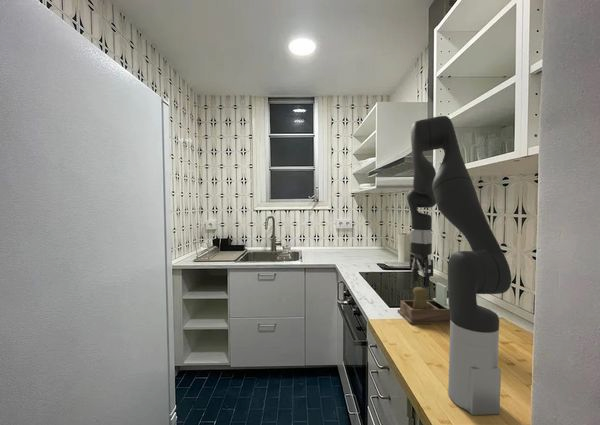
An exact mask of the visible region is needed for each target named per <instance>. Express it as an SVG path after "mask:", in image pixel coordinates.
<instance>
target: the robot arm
mask: <svg viewBox="0 0 600 425" xmlns="http://www.w3.org/2000/svg"><path fill="white" fill-rule="evenodd" d="M410 142H411V153H412V154H411V156H412V163H413V164H412V165H413V179H412V180H413V181H412V182H413V183H412V188H413V189H409V191H408V192H407V195H406V200H407V204H408V207H409V211H410V217H411V232H410V248H409V249H410V254H409V269H411V272H412V274H411V275H412V277H411V278H412V281H413V282H419V277H420V276H419V272H421V274H422V286H423V288H429V287H430V278H431V277H434V259H429V256H430V255H432V254H433V252H432V250H433V233H432V222H433V220H432V216H431V215H430V214H428V213H423V212H420V211H419V210H418V208H422V209H423V208H425V209H426V208H433V207H434V206H436V205H437V209H438V210H439V211H440V213H441V214H442V215H443V216H444V218H446V219H447V220H448V222H450V223H451V225H452V226H454V227H455V228H456V229H457V230H458V231H459V232H460V233H461V234H462V235H463V236H464V237H465V239H466V241H467V242H468V245H469V246H470V249H471V250H462V251H460V250H458V251H455V252H453V253H452V254H451V255H450V257H449V259H448V263H447V298H448V303H449V309H450V324H449V325H450V326H449V348H448V349H449V351H448V352H449V354H448V355H449V356H448V390H447V391H448V392H447V394H448V397H449V398H450V399H451V401H452V402H453V403H454V404H455V405H457V406H458V407H460V408H461V409H464V410H465V411H467V412H468V413H469V414H470V415H472V416H474V415H477V416H478V415H481V416H482V415H483V416H484V415H500V411H501V387H502V386H501V383H502V381H501V380H502V370H501V368H499V367H498V366H499V340H500V318H499V315H498V314H497V312H495V311H493V310H491V309H490V308H487V307H485V306H481V305H478V302H477V295H499V294H504V293H506V292H507V291H509V289H510V287H511V285H512V273H511V269H510V265H509V263H508V260H507V258H506V256H505V253H504V252H503V250H502V248H501V246H500V244H499V242H498V240H497V238H496V237H495V234H494V232H493V230H492V229H491V227H490V224H489V222H488V220H487V217H486V215H485V212H484V211H483V208H482V205H481V202H480V200H479V197H478V194H477V191H476V189H475V188H476V187H475V186H474V183H473V180H472V179H471V176H470V174H469V172H468V169H467V167H466V164H465V161H464V158H463V155H462V152H461V150H460V149H461V148H460V146H459V141H458V138H457V134H456V130H455V127H454V124H453V122H452V120H451V119H450V117H449V116H447V115H439V116H434V117H430V118H423V119H419V120H416V121H415V122H413V124H412V125H411V130H410ZM440 149H441V150H443V152H444V153H443V154H444V155H443V158H442V162H441V164H440V166H439V168H438V169H437V172H436V168H435V166H434V165H433V164H432V163H431V162H430V160H429V159H427V158H426V157H425V155H424V152H428V151H434V150H440Z"/></svg>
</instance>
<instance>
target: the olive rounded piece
mask: <svg viewBox="0 0 600 425" xmlns="http://www.w3.org/2000/svg"><path fill="white" fill-rule="evenodd" d="M412 293H413V300H414V303H413V309H428V308H427V297H428V296H429V292H428V289H427V287H422V286H416V287H414V288H413V290H412Z"/></svg>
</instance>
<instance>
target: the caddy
mask: <svg viewBox="0 0 600 425" xmlns="http://www.w3.org/2000/svg"><path fill="white" fill-rule="evenodd" d="M426 300H427V299H426ZM413 303H414V299H412V300H411V299H410V300H407V299H406V300H405V299H403V300H401V299H400V300H399V309H397V313H398V314H399V315H400V316H401V317H402V318H403V319H404V320H405V321H406V322H407V323H408V324H409V325H410V326H411V325H413V326H415V325H450V309H446V308H445V307H443V306H442V305H440V304H439V303H437V302H435V301H434V300H433V299H432V300H431V299H428V300H427V308H428V309H413Z"/></svg>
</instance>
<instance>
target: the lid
mask: <svg viewBox="0 0 600 425" xmlns="http://www.w3.org/2000/svg"><path fill="white" fill-rule="evenodd" d="M432 300H434V301H435V302H437V303H439V304H440V305H442V306H443V307H445V308H446V309H449V303H448V286H446V285H444V284H442V283H440V282H436V283H435V297H433V298H432Z"/></svg>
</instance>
